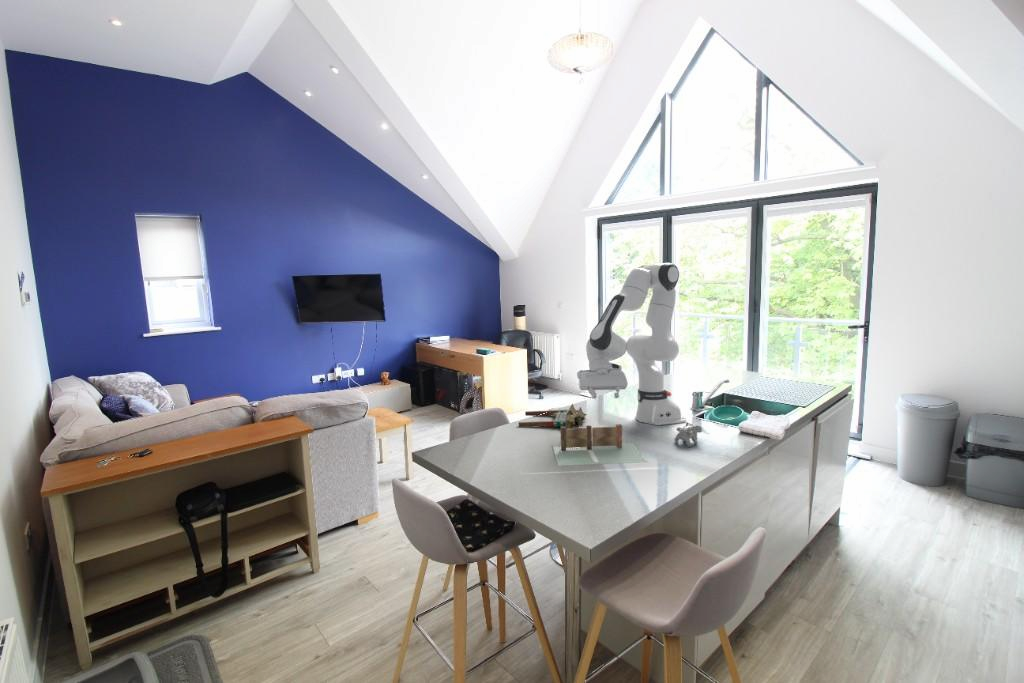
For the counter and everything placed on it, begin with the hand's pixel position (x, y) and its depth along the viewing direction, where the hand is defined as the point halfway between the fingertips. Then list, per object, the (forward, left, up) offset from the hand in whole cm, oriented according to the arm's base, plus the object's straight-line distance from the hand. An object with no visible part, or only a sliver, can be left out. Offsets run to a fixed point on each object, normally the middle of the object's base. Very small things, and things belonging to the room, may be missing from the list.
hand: (605, 397), depth 200 cm
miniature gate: (+19, -25, -18) cm, 36 cm away
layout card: (+8, +19, -17) cm, 27 cm away
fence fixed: (+15, +14, -17) cm, 26 cm away
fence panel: (+3, +14, -16) cm, 22 cm away
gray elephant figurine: (-31, +10, -17) cm, 37 cm away
